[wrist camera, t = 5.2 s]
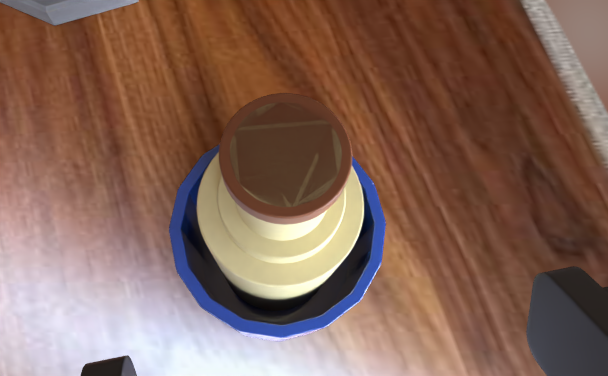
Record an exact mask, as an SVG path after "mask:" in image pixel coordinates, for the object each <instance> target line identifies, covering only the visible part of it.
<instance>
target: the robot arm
mask: <svg viewBox="0 0 608 376" xmlns="http://www.w3.org/2000/svg"><path fill="white" fill-rule="evenodd" d="M527 340H528V344H529V348H530V350H531V352H532V355H533V357H534V358H535V360H536V361H537V363H538V364H539V365H540V367H541V368H542V369H543V371H544V372H545V373H546V375H547V376H608V287H604V288H602V287H601V286H600V285H599V284H598V283H597V282H596V281H594V280H593V279H592V278H591V277H590V276H589V275H588V274H587V273H586V272H585V271H583V270H582V269H581V268H579V267H574V266H573V267H568V268H563V269H558V270H553V271H548V272H543V273H539V274H537V275H536V277H535V279H534V282H533V289H532V295H531V302H530V309H529V316H528V323H527ZM81 376H137V375H136V372H135V369H134V366H133V363H132V361H131V359H130V357H129V356H122V357H117V358H112V359H107V360H102V361H97V362H92V363H87V364H85V366H84V367H83V369H82V373H81Z"/></svg>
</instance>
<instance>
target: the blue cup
mask: <svg viewBox="0 0 608 376" xmlns="http://www.w3.org/2000/svg"><path fill="white" fill-rule="evenodd" d="M219 145H220V144H219ZM219 145H217V146H216V147H214V148H213V149H211V150H210V151H208V152H206V153H205V154H203V156H201V157H200V159H199V160H198V162H197V163H196V164H195V166H194V167H193V169H192V170H191V171H190V173H189V174H188V176H187V177H186V178H185V180H184V181H183V183H182V184H181V185H180V187H179V189H178V191H177V196H176V200H175V204H174V208H173V213H172V217H171V221H170V226H169V234H170V239H171V245H172V250H173V256H174V261H175V267H176V270H177V273H178V274H179V276H180V277H181V279H182V280H183V282H184V283H185V285H186V286H187V288H188V289H189V291H190V292H191V294H192V295H193V297H194V298H195V300H196V301H197V303H198V304H199V306H200V307H201V308H202V309H204V310H205V311H207V312H208V313H210V314H211V315H213V316H214V317H216V318H217V319H219V320H220V321H222V322H224V323H225V324H227V325H228V326H230V327H231V328H233V329H235V330H236V331H238V332H239V333H241V334H243V335H244V336H247V337H253V338H259V339H265V340H272V341H283V340H287V339H291V338H295V337H299V336H303V335H307V334H310V333H313V332H315V331H318V330H320V329H323V328H325V327H327V326H329V325H330V324H331V323H332V322H334V321H335V320H336V319H338V318H339V317H340V316H341V315H343V314H344V313H345V312H347V311H348V310H349V309H351V308H352V307H353V306H354V305H356V304H357V303H358V302H360V300H361V299H362V298H363V296H364V294H365V292H366V290H367V289H368V287H369V285H370V283H371V281H372V280H373V278H374V276H375V274H376V272H377V271H378V269H379V267H380V265H381V262H382V254H383V245H384V235H385V226H386V223H385V218H384V214H383V211H382V208H381V204H380V201H379V198H378V194H377V191H376V187H375V185H374V183H373V181H372V180H371V179H370V177H369V176H368V175H367V174H366V172H365V171H364V170H363V169H362V167H361V166H360V165H359V164H358V162H357V161H356V160H355V159H354V157H353V156H352V166H353V168H354V170H355V172H356V174H357V176H358V179H359V182H360V184H361V188H362V193H363V200H364V217H363V222H362V227H361V230H360V233H359V236H358V239H357V241H356V243H355V245H354V247H353V248H352V250H351V251H350V253H349V254H348V256H347V257H346V258H345V259H344V260H343V262H342V263H341V264H340V265H339V266H338V268H337V269H336V270H335V271H334V272H333V273H332V275H331V276H330V277H329V278H328V279H327V281H326V282H325V283H324V284H323V285H322V286H321V288H320V289H319V290H318V291H317V292H316V293H315V295H314V296H312V297H311V298H310V299H309V300H307V301H306V302H304V303H303V304H301V305H299V306H297V307H294V308H291V309H287V310H282V311H271V310H264V309H260V308H257V307H254V306H252V305H250V304H248V303H246V302H245V301H244V300H242V299H241V298H240V297H239V296H238V295H237V294H236V293H235V292H234V291H233V290H232V288H231V287H230V285H229V284H228V282H227V280H226V278H225V277H224V275H223V273H222V271H221V270H220V268H219V266H218V264H217V262H216V261H215V259H214V257H213V255H212V254H211V252H210V250H209V248H208V246H207V245H206V243H205V241H204V238H203V236H202V234H201V231H200V227H199V223H198V217H197V196H198V190H199V186H200V183H201V179H202V177H203V175H204V173H205V170H206V169H207V167H208V165H209V164H210V162H211V161H212V159H213V158H214V157H215V156H216V155H217V153H218V152H219Z"/></svg>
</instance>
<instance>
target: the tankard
mask: <svg viewBox="0 0 608 376" xmlns="http://www.w3.org/2000/svg"><path fill="white" fill-rule="evenodd" d="M0 2H1V3H3V4H6V5H8V6H10V7H13V8H15V9H17V10H20V11H22V12H24V13H27V14H29V15H31V16H34V17H36V18H38V19H41V20H43V21H45V22H48V23H50V24H52V25H58V24H62V23H66V22H69V21H73V20H76V19H80V18H83V17H87V16H90V15H94V14H98V13H101V12H105V11H108V10H112V9H115V8H119V7H122V6H126V5H129V4H133V3H137V2H138V0H0Z"/></svg>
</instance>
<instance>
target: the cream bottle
mask: <svg viewBox="0 0 608 376" xmlns="http://www.w3.org/2000/svg"><path fill="white" fill-rule="evenodd" d="M197 217H198V223H199V227H200V231H201V234H202V236H203V238H204V241H205V243H206V245H207V246H208V248H209V250H210V252H211V254H212V255H213V257H214V259H215V261H216V262H217V264H218V266H219V268H220V270H221V271H222V273H223V275H224V277H225V278H226V280H227V282H228V284H229V285H230V287H231V288H232V290H233V291H234V292H235V293H236V294H237V295H238V296H239V297H240V298H241V299H242V300H244V301H245V302H246V303H248V304H250V305H252V306H254V307H257V308H260V309H264V310H271V311H282V310H287V309H291V308H294V307H297V306H299V305H301V304H303V303H304V302H306V301H307V300H309V299H310V298H311V297H312V296H314V295H315V293H316V292H317V291H318V290H319V289H320V288H321V286H322V285H323V284H324V283H325V282H326V281H327V279H328V278H329V277H330V276H331V275H332V273H333V272H334V271H335V270H336V269H337V268H338V266H339V265H340V264H341V263H342V262H343V260H344V259H345V258H346V257H347V256H348V254H349V253H350V251H351V250H352V248H353V247H354V245H355V243H356V241H357V239H358V236H359V233H360V230H361V227H362V222H363V217H364V200H363V193H362V188H361V184H360V182H359V179H358V176H357V174H356V172H355V170H354V168H353V166H352V147H351V142H350V139H349V136H348V133H347V131H346V129H345V128H344V126H343V124H342V123H341V121H340V120H339V119H338V117H337V116H336V115H335V114H334V113H333V112H332V111H331V110H329V109H328V108H327V107H326V106H324V105H323V104H321V103H320V102H318V101H316V100H314V99H311V98H309V97H306V96H302V95H298V94H290V93H279V94H271V95H267V96H263V97H261V98H258V99H256V100H254V101H252V102H250V103H248V104H247V105H245V106H244V107H243V108H241V109H240V110H239V111H238V112H237V113H236V114H235V115H234V116H233V117H232V118H231V120H230V121H229V123H228V124H227V126H226V127H225V130H224V132H223V134H222V137H221V141H220V145H219V152H218V153H217V155H216V156H215V157H214V158H213V159H212V161H211V162H210V164H209V165H208V167H207V169H206V170H205V173H204V175H203V177H202V179H201V183H200V186H199V190H198V196H197Z"/></svg>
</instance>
